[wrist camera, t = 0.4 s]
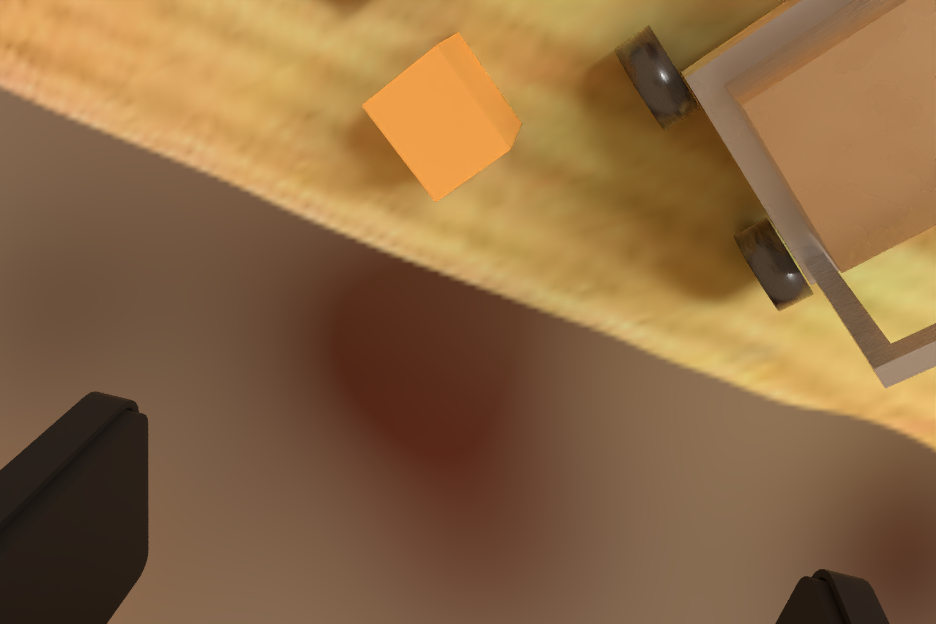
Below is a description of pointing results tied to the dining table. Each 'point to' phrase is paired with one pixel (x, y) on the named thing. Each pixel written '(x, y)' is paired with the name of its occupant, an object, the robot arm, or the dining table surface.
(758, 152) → the trolley
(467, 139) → the orange cube-like block
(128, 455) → the robot arm
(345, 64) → the dining table surface
